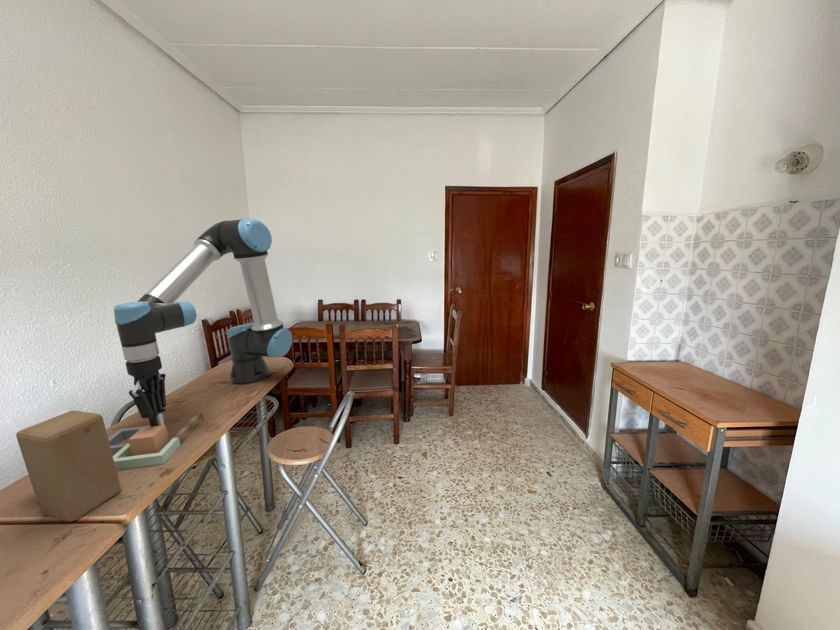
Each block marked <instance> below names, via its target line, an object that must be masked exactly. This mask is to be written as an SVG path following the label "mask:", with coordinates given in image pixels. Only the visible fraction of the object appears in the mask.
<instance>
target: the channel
mask: <svg viewBox="0 0 840 630" xmlns="http://www.w3.org/2000/svg"><path fill="white" fill-rule="evenodd" d="M203 420H204V414H203V412H202V411H201V412H199V411H198V412H195V414H194V415H193V416H192V417H191V419H190V420H188V422H186V423H185V425H184V426H183V427H182V428H180V430H179V431H178V432H177V433H176V434H175V435H174V436H173V437H172V438H177V437H179V441H180V446H181V445H182V444H183V443H184V442H185V441H186V439H187V438H188V437H189V436H190V435H191V434H192V433H193V432H194V431H195V429H196V428H197V427H198V426H199V425H200V423H201V422H203ZM163 421H164V425H166V423H165V418H164V417H163ZM146 426H147V427H150V423H149V424H148V425H146Z"/></svg>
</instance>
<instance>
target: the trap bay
mask: <svg viewBox="0 0 840 630" xmlns="http://www.w3.org/2000/svg"><path fill="white" fill-rule="evenodd" d="M147 426H148V425H145V426H138V427H137V426H136V427H127V428H120V429H118V430H117V431H116V432H115V433H113V434H112V435H111V436H110V437H108V440H109V444H110V448H111V451H112V455H113V456H114V455H115V454H116V453H117V452H118V451H119V450H121V449H122V448H123V447H124V446H125V445H126V444H127V443H122V444H120V443H121V442H123V440H125V439H129V438H131V437H132V436H133V435H134V434H135V433H137V432H138V431H139V430H140V429H141V428H144V427H147Z"/></svg>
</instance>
